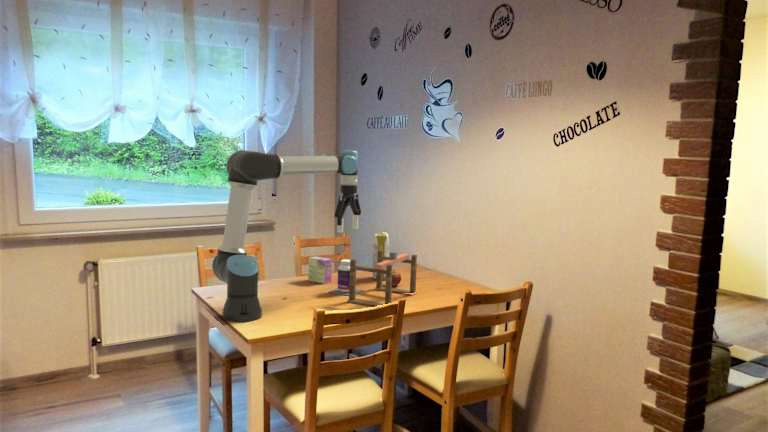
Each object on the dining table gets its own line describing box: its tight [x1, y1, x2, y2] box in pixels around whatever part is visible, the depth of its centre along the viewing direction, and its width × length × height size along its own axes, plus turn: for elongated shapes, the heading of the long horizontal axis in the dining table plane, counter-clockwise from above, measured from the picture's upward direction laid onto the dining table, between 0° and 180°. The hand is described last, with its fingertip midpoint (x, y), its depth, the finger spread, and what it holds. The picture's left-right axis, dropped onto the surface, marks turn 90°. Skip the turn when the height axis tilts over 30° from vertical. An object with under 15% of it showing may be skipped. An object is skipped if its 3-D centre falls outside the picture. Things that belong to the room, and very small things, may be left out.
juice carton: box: [372, 231, 390, 281], centre depth 297 cm, size 9×8×24 cm
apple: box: [384, 270, 402, 287], centre depth 284 cm, size 8×8×8 cm
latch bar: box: [375, 251, 411, 270], centre depth 257 cm, size 29×3×5 cm, turn 154°
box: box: [307, 255, 333, 285], centre depth 287 cm, size 10×6×12 cm, turn 58°
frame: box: [347, 250, 418, 307], centre depth 260 cm, size 30×20×18 cm, turn 154°
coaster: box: [328, 287, 365, 297], centre depth 270 cm, size 12×12×1 cm
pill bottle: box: [337, 258, 351, 292], centre depth 268 cm, size 8×8×14 cm
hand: (347, 230), depth 266 cm, fingers open, 13 cm apart
